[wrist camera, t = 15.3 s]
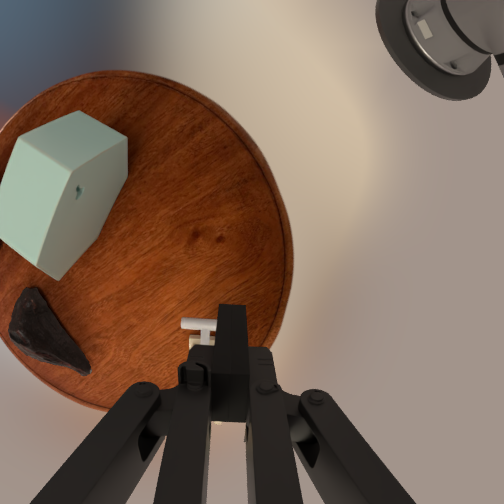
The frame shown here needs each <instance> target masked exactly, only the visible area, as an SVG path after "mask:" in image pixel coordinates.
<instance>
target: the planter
mask: <svg viewBox="0 0 504 504" xmlns="http://www.w3.org/2000/svg"><path fill="white" fill-rule="evenodd" d="M127 177H128V138H127V137H126V136H124V135H122V134H121V133H119V132H117V131H115V130H114V129H112V128H110V127H108V126H106V125H105V124H103V123H101V122H99V121H97V120H96V119H94V118H92V117H90V116H88V115H87V114H85V113H83V112H81V111H79V110H78V111H76V112H73V113H70V114H68V115H66V116H63V117H61V118H58V119H56V120H54V121H51V122H49V123H47V124H44V125H42V126H40V127H38V128H36V129H33V130H31V131H29V132H27V133H25V134H23V135H21V136H19V137H18V139H17V141H16V144H15V146H14V149H13V151H12V154H11V156H10V159H9V162H8V164H7V167H6V170H5V173H4V176H3V179H2V182H1V185H0V239H1V240H3V241H4V242H5V243H6V244H8V245H9V246H10V247H11V248H12V249H14V250H15V251H16V252H18V253H19V254H20V255H21V256H23V257H24V258H25V259H27V260H28V261H29V262H30V263H32V264H33V265H34V266H36V267H37V268H39V269H40V270H42V271H43V272H45V273H46V274H48V275H49V276H51V277H52V278H54V279H56V280H57V281H60V279H61V278H62V277H63V276H64V275H65V274H66V272H67V271H68V270H69V269H70V268H71V267H72V266H73V264H74V263H75V262H76V261H77V260H78V259H79V258H80V257H81V255H82V254H83V253H84V252H85V251H86V250H87V249H88V248H89V247H90V246H91V245H92V243H93V242H94V241H95V240H96V239H97V238H98V236H99V234H100V232H101V230H102V227H103V225H104V223H105V221H106V219H107V217H108V215H109V213H110V211H111V208H112V206H113V204H114V202H115V200H116V198H117V196H118V194H119V192H120V190H121V189H122V187H123V185H124V183H125V181H126V179H127Z"/></svg>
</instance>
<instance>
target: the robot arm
mask: <svg viewBox="0 0 504 504" xmlns="http://www.w3.org/2000/svg"><path fill="white" fill-rule="evenodd" d="M402 21H403V26H404V29H405V32H406V34H407V37H408V39H409V40H410V42H411V44H412V45H413V47H414V48H415V50H416V51H417V52H418V54H419V55H420V56H421V57H422V58H423V59H424V60H425V61H426V62H427V63H428V64H429V65H431V66H432V67H433V68H435V69H436V70H438V71H440V72H442V73H444V74H446V75H449V76H455V77H458V76H464V75H467V74H470V73H472V72H474V71H475V70H476V69H477V68H478V67H479V66H480V65H481V64H482V63H483V62H484V61H485V60H486V59H487V58H488V57H489V56H490V55H491V54H493V55H494V57H495V59H496V61H497V63H498V66H499V68H500V70H501V72H502V75H503V77H504V0H407V1H406V2H405V4H404V6H403V10H402ZM178 382H179V385H178V386H176V387H174V388H171V389H165V390H159V387H158V386H157V385H155V384H153V383H151V382H137V383H135V384H133V385H131V386H130V387H129V388H128V389H127V390H126V392H125V393H124V394H123V395H122V396H121V397H120V399H119V400H118V401H117V402H116V403H115V404H114V405H113V407H112V408H111V409H110V410H109V411H108V412H107V414H106V415H105V416H104V417H103V418H102V419H101V421H100V422H99V423H98V424H97V425H96V427H95V428H94V429H93V430H92V431H91V432H90V433H89V435H88V436H87V437H86V438H85V439H84V441H83V442H82V443H81V444H80V445H79V447H77V449H76V450H75V451H74V452H73V453H72V454H71V456H70V457H69V458H68V459H67V460H66V462H65V463H64V464H63V465H62V466H61V467H60V469H59V470H58V471H57V472H56V473H55V474H54V476H53V477H52V478H51V479H50V480H49V481H48V483H47V484H46V485H45V486H44V487H43V489H42V490H41V491H40V492H39V493H38V494H37V496H36V497H35V498H34V499H33V500H32V501H31V503H30V504H125V503H126V502H127V500H128V499H129V497H130V495H131V494H132V492H133V490H134V489H135V487H136V485H137V484H138V482H139V481H140V479H141V477H142V475H143V474H144V472H145V471H146V469H147V467H148V466H149V464H150V462H151V461H152V459H153V457H154V456H155V454H156V452H157V451H158V449H159V447H160V445H161V444H162V442H163V440H164V439H165V436H167V439H166V443H165V448H164V452H163V457H162V462H161V467H160V472H159V477H158V482H157V487H156V492H155V498H154V503H153V504H206V498H207V481H208V465H209V451H210V450H209V449H210V437H211V436H210V435H211V421H220V422H244V423H245V422H246V429H245V439H244V442H246V463H247V488H248V504H303V500H302V495H301V489H300V484H299V478H298V473H297V468H296V462H295V457H294V451H293V448H294V450H295V451H296V453H297V455H298V457H299V459H300V461H301V463H302V464H303V466H304V468H305V470H306V472H307V473H308V475H309V477H310V479H311V480H312V482H313V484H314V486H315V487H316V489H317V491H318V493H319V494H320V496H321V498H322V500H323V501H324V503H325V504H416V503H415V502H414V500H413V499H412V498H411V497H410V495H409V494H408V493H407V492H406V491H405V489H404V488H403V487H402V486H401V484H400V483H399V482H398V481H397V479H396V478H395V477H394V476H393V475H392V473H391V472H390V471H389V470H388V468H387V467H386V466H385V465H384V463H383V462H382V461H381V460H380V458H379V457H378V456H377V455H376V453H375V452H374V451H373V450H372V449H371V447H370V446H369V444H368V443H367V442H366V441H365V439H364V438H363V437H362V436H361V434H360V433H359V432H358V431H357V429H356V428H355V427H354V425H353V424H352V423H351V422H350V420H349V419H348V418H347V416H346V415H345V414H344V413H343V411H342V410H341V409H340V407H339V406H338V405H337V403H336V402H335V401H334V400H333V398H332V397H331V396H330V395H329V394H328V393H326V392H324V391H322V390H317V389H310V390H307V391H304V392H303V393H302V394H301V396H297V395H292V394H289V393H287V392H284V391H283V390H282V389H281V387H280V385H278V383H277V379H276V373H275V367H274V362H273V356H272V352H270V350H269V349H268V348H267V347H248V335H247V319H246V305H231V304H219V309H218V317H217V326H216V334H215V343H214V345H201V344H195V345H194V346H193V347H192V348H191V349H190V350H189V354H188V359H187V361H186V362H184V363H182V364H180V365H179V367H178Z"/></svg>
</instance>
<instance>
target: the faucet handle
mask: <svg viewBox="0 0 504 504" xmlns="http://www.w3.org/2000/svg"><path fill="white" fill-rule="evenodd" d="M216 326H217V319H203V318H189V317H182V319H181V328H182V329H194V330H201V340H200V344H201V345H210V331H216Z"/></svg>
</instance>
